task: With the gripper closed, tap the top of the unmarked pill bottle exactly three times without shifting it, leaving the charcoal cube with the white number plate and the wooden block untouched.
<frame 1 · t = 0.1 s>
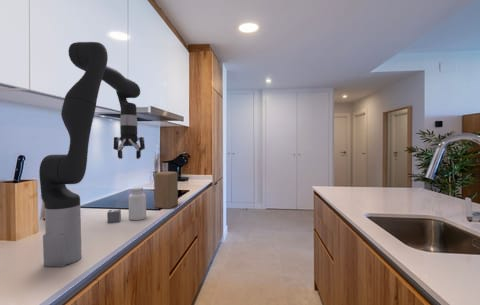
hand: (129, 158, 126), 29 cm above the counter, tool pointing down, fingers open, 8 cm apart
pill bottle: (137, 218, 128), on the counter
number cube: (114, 221, 123), on the counter
wooden block: (166, 206, 151), on the counter
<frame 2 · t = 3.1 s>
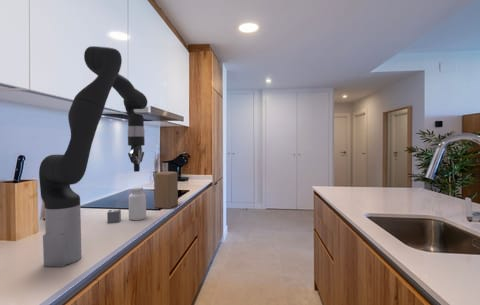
hand: (136, 171, 127), 23 cm above the counter, tool pointing down, fingers closed
nothing on the counter moved.
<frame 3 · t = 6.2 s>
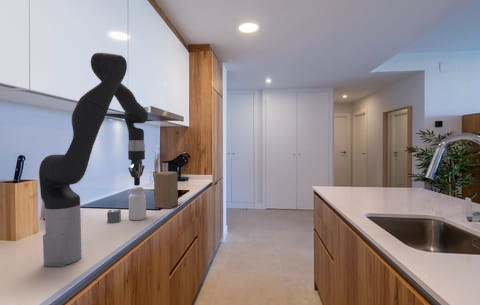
hand: (137, 185, 127), 16 cm above the counter, tool pointing down, fingers closed
nothing on the counter moved.
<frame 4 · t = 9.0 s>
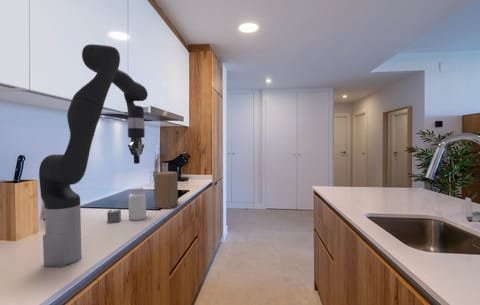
hand: (136, 163, 127), 27 cm above the counter, tool pointing down, fingers closed
nothing on the counter moved.
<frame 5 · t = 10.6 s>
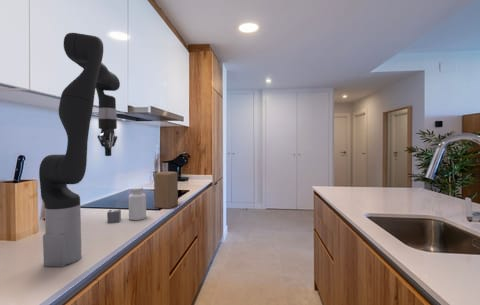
hand: (108, 155, 121), 31 cm above the counter, tool pointing down, fingers closed
nothing on the counter moved.
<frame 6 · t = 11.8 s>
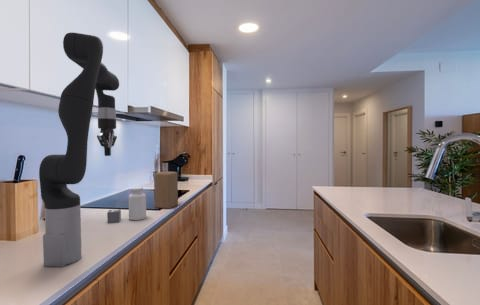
hand: (107, 155, 121), 31 cm above the counter, tool pointing down, fingers closed
nothing on the counter moved.
at the end: pill bottle moved 0.2 cm from its start; pill bottle tilted 0°; number cube moved 0.1 cm from its start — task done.
